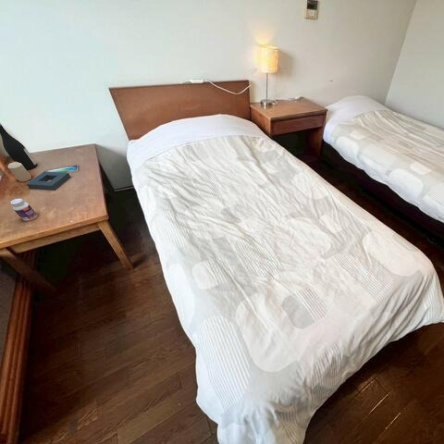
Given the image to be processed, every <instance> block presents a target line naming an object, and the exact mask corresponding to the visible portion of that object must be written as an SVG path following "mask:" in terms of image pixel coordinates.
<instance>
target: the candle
mask: <svg viewBox="0 0 444 444" xmlns="http://www.w3.org/2000/svg"><path fill="white" fill-rule="evenodd" d="M7 168H8V169H9V171H10V172H11V174H13V176H14V177H15V178H16V180H17V181H18V182H19V183H20V182H21V183H22V182H27V181H28V182H29V181H31V180H32V175H31V174H30V173H29V172H28V170H26V169H25V168H24V167H23V165H22V164H21V163H18V162H14V161H13V162H11V163H9V164H8V165H7Z"/></svg>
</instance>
